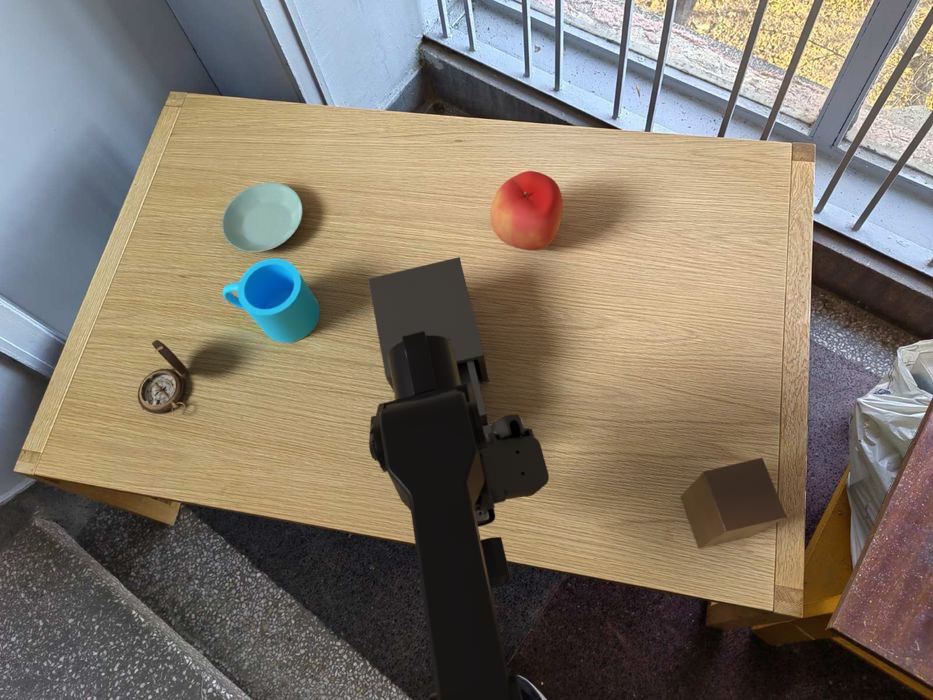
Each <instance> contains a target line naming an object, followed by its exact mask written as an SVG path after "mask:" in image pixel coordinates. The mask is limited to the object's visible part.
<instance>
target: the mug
mask: <svg viewBox="0 0 933 700" xmlns="http://www.w3.org/2000/svg"><path fill="white" fill-rule="evenodd" d="M233 292H237V295H235V294H233ZM222 296H223V298H224V300H225V301H227V302H228V303H229V304H231V305H233V306H235V307H237V308H239V309H242V310H244V311H246V313H247V314H248V315H249V316H250V317H251V318H252V319H253V321H254V322H255V323H256V324H257V325H258V326H259V328H260V329H261V330H262V331H263V332H264V333H265V335H266V336H267V337H269V339H272V340H273V341H275V342H279V343H283V344H286V343H290V344H291V343H294V342H295V343H296V342H297V341H301V340H303V339H304V338H306V337H307V336H309V335H310V334H311V333H312V332H313V330H315V328H316V327H317V324H318V322H319V321H320V313H321V308H320V304H319V302H318V300H317V299H316V297H315V294H313V292H312V291H311V289H310V288H309V286H308V284H307V282H306V281H305V280H304V278H303V277H302V275H301V273H300V272H299V271H298V268H297V267H296V266H295V265H294V264H293V263H291V262H290V261H288V260H285V259H281V258H267V259H264V260H261V261H258V262H255V264H253V265H251V266H249V268H248V269H246V271H245V272H244V273H243V274H242V276H241V278H240V280H239V282H238V281H237V282H232V283H228V284H227V285H225V286H224V287H223V290H222Z"/></svg>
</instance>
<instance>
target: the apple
mask: <svg viewBox="0 0 933 700" xmlns="http://www.w3.org/2000/svg"><path fill="white" fill-rule="evenodd" d="M563 204H564V201H563V196H562V192H561V188H560V186H559V185H558V183H557V182H556V180H554V179H553V178H552V177H551V176H548V175H547V174H544V173H542V172H539V171H534V170H526V171H523V172H520V173H518V174H516V175H514V176H512V177H511V178H509V179H507V180H506V181H505V182H504V183H503V184H502V185H500V186H499V188H498V189H497V191H496V193H495V195H494V197H493V199H492V201H491V205H490V211H489V212H490V215H489V216H490V223H491V227H492V230H493V232H494V234H495V235H496V236H497V237H498V239H499V240H500V241H501V242H503V243H504V244H506V245H507V246H510V247H513V248H515V249H519V250H523V251H540V250H543V249H546V248H547V247H548V246H549V245H550V244H551V243H552V242H553V240H554V239H555V237H556V235H557V234H558V231H559V228H560V226H561V225H560V224H561V221H562V216H563V208H564V205H563Z"/></svg>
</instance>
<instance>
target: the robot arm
mask: <svg viewBox="0 0 933 700" xmlns="http://www.w3.org/2000/svg"><path fill="white" fill-rule="evenodd" d="M402 340H403V341H402V342H400V343H399V344H397V345H395V346H394V347H393V348H391V350H390V351H389V352H388V354H387V356H388V362H389V367H390V372H391V378H392V383H393V389H394V392H393V394H394V400H390V401H385V402H382V403H378V406H377V408H376V409H377V410H376V413H375V415H372V416H371V417H370V423H369V424H370V425H369V439H368V448H369V452H370V456H371V458H372V459H373V460H375V461H377V462H378V464H379V467H380V469H381V470H382V472H383V473H386V472H387V474H388V476H389V478H390V480H391V482H392V484H393V486H394V489H395V490H396V492H397V494H398V496H399V499H400V501H401V502H402V503H403V505H405V507H407V508H408V510H409V511H410V516H411V522H412V528H413V529H412V530H413V535H414V536H413V537H414V543H415V551H416V557H417V563H418V564H417V565H418V571H419V578H420V587H421V592H422V593H421V594H422V599H423V600H422V601H423V606H424V614H425V620H426V622H425V623H426V628H427V636H428V642H429V649H430V656H431V663H432V671H433V678H434V684H435V685H434V686H435V692H432V693H429V697H428V700H524V698H523V694H522V690H521V686H520V682H519V679H518V675H517V673H513V674H509V670H508V665H507V661H506V660H507V659H506V655H505V651H504V646H503V641H502V637H501V632H500V626H499V622H498V617H497V613H496V606H495V602H494V598H493V593H492V589H493V588H498V587H503V586H506V585H507V584H508V582H509V581H510V579H511V573H510V570H509V569H510V568H509V565H508V564H509V563H508V560H507V555H506V551H505V548H504V543H503V539H502V536H496V537H495V536H494V537H488V538H484V539H483V538H482V539H481V535H480V529H479V527H484V526H487V525H490V524H492V523H493V522H495V520H496V512H495V508H496V506H495V505H496V504H500V503H504V502H506V500H511V499H517V498H524V497H526V498H527V497H532V496H534V495H535V494H537V493H538V492H539V491H540V490H541V489H542V488H544V487H545V486H546V485H547V484H548V483H549V479H550V475H549V470H548V467H547V463H546V460H545V456H544V453H543V449H542V445H541V443H540V441H539V440H538V439H537V438H536V437H535V435H534V431H533V428H530V427H529V428H528V427H525V426H524V424H523V419H522V417H521V416H520V414H518V413H517V414H507V415H504V416H503V417H501V418H499V419H497V420H496V421H494V422H492V423H491V424H492V425H491V427H490V433H488V434H485V435H484V431H483V426H482V422H481V418H480V414H479V409H478V405H477V401H476V397H475V393H474V388H473V384H472V382H470V383H466V384H461V380H460V376H459V372H458V367H457V363H456V359H455V354H454V350H453V345H452V342H451V339H447V338H445V337H442V336H436V335H427V336H426V334H425V331H420V332H416V333H411V334H407V335H403V336H402Z"/></svg>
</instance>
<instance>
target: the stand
mask: <svg viewBox="0 0 933 700" xmlns="http://www.w3.org/2000/svg"><path fill="white" fill-rule="evenodd" d="M680 500H681V503H682V506H683V508H684V512H685V514H686V517H687V520H688V523H689V525H690V529H691V531H692V534H693V537H694V540H695V543H696V545H697V548H698V549H703V548H708V547H713V546H717V545H720V544H724V543H729V542H733V541H737V540H743V539H745V538H750V537H753V536H754V535H756V534H758V533H760V532H762V531H764V530H766V529H768V528H769V527H771V526H773V525H776V524H777V523H779V522H780V521H782V520H784V519H786V518H787V515H786V512H785V509H784V507H783V505H782V502H781V500H780V497H779V495H778V493H777V490H776V488H775V485H774V483H773V480H772V477H771V475H770V473H769V471H768V468H767V466H766V464H765V461H764V458H763V457H759V458H755V459H754V458H753V459H750V460H746V461H742V462H738V463H733V464H729V465H725V466H722V467H717V468H712V469H709V470H704V471H702V473H701V474H700V475H699V476H698V477H697V478H696V479H695V480H694V481H693V482H692V483H691V484H690V486H689V487H687V488H686V490H685V491H684V492H683V493H682V494H681V495H680Z"/></svg>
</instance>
